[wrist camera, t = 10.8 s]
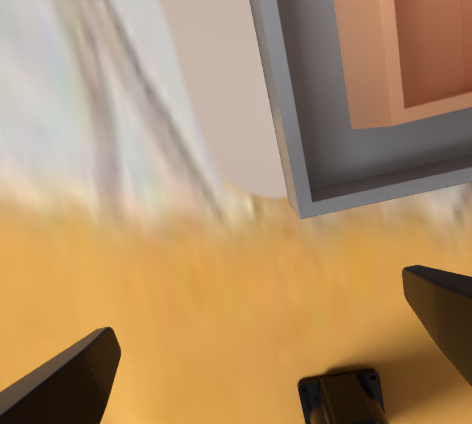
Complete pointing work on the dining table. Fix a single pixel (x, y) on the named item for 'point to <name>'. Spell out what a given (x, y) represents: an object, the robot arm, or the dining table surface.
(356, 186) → the big crate
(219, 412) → the dining table surface
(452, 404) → the dining table surface
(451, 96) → the small crate
